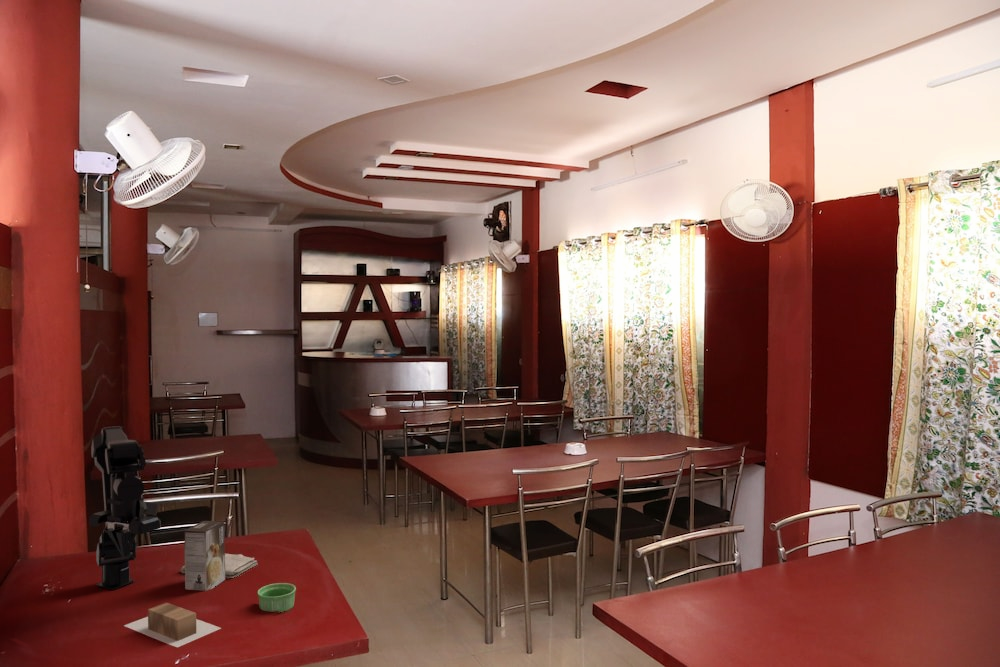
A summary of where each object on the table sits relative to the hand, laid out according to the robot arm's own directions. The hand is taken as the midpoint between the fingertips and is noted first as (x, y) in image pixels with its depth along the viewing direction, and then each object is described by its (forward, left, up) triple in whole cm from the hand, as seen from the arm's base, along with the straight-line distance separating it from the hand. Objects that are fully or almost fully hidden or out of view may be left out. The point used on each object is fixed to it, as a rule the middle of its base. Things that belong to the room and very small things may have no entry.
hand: (125, 556), depth 174 cm
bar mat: (+22, -5, -12) cm, 26 cm away
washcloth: (+2, +28, -13) cm, 31 cm away
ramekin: (+35, +14, -12) cm, 40 cm away
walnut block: (+18, -6, -9) cm, 21 cm away
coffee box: (+8, +17, -12) cm, 23 cm away
